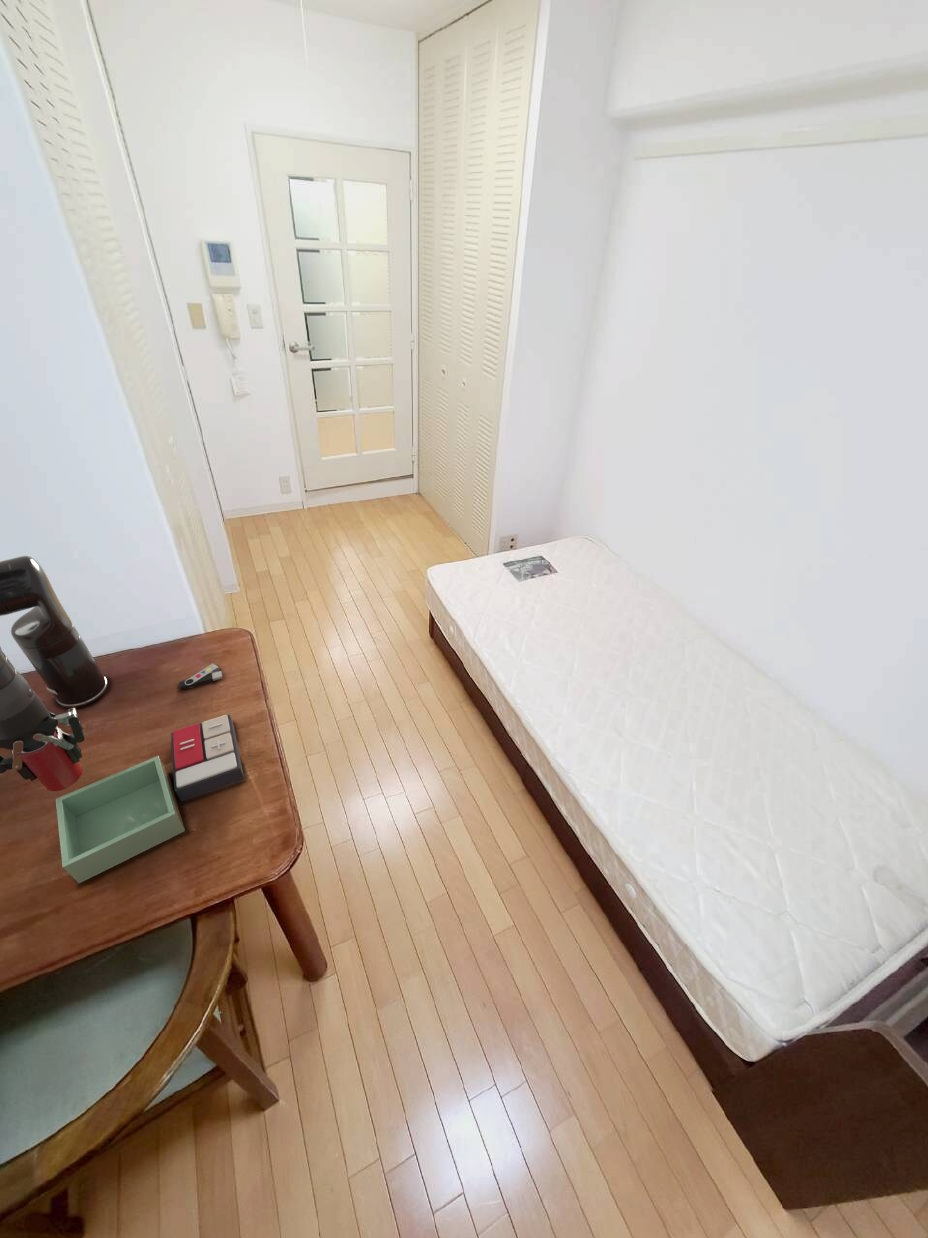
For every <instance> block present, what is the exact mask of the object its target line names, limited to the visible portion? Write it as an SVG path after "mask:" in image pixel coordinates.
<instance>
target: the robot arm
mask: <svg viewBox="0 0 928 1238" xmlns="http://www.w3.org/2000/svg"><path fill="white" fill-rule="evenodd" d="M29 609H30V610H29ZM26 610H29V611H27V612H26V613H24V614H23V615H21V616H20V617H19V618H17V619H16V620H15V621H14V623H13V624H12V625H11V628H10V634H11V636H12V639H13V640H14V641H15V643H16V644H17V645H18V647H19V648H20V650H21V652H22V653H23V654H24V655H25V657H26V658H27V660H28V661H29V662H30V664H31V665H32V667H33V668H34V670H35V671H36V673H38V675H39V677H40V678H41V680H42V681H43V682H44V684H45V685H46V686H45V688H46V690H47V691H48V692H50V693H51V694H52V695H53V697H54V698H55V700H56V702H57V704H58V705H59V706H60V707H62V708H66V709H67V712H64V713H59V714H55V713H53V712H51V711H50V710H48V708H47V706H46V705H45V704H44V702H43V701H42V700H41V698H40V697H39V696H38V694H37V693H36V691H35V690H34V689H33V687H32V686H31V685H30V683H29V682H28V681H27V679H26V678H25V677H24V676H23V675H22V673H20V672H19V671H18V670H17V669H16V667H14V665H13V664H12V662H11V661H10V660H9V658H8V657H7V656H6V654H5V653H4V651H3V650H2V648H1V647H2V646H0V749H6V750H9V751H10V750H11V757H6V756H4V755H2V754H1V753H0V774H4V773H6V772H7V771H8V770H14V771H16V772H17V773H18V774H19V775H20V776H21V777H22V778H23V780H26V781H27V780H30V781H31V782H33V781H35V780H38V778H37V777H36V776H35V775H34V774H33V773H32V771H31V770H30V769H29V768H28V767H27V766H26V764H25V763H24V762H23V761H22V758H21V757H20V756H19V754H22V753H21V752H23V749H24V748H27V747H29V746H32V745H34V744H37V743H40V742H45V743H47V742H49V743H50V742H53V744H54V745H55V746H58V745H59V746H60V747H62V748H64V749H66V752H67V754H68V755H69V756H70V758H71V759H72V760H73V761H74V763H77V762H78V763H79V762H81V758H83V754H82V749H81V747H80V746H79V745H78V743H80V744H81V743H83V742H84V741H85V734H84V728H83V726H82V723H81V720H80V715H79V713H78V710H77V709H79V708H82V707H85V706H89V705H90V704H93V703H94V702H96V701H97V700H99V699H100V698H101V697H103V696H104V694H106V692H107V690H108V688H109V681H108V680H107V678H106V676H104V674H103V672H102V671H101V669H100V667H99V666H98V664H97V662H96V660H95V658H94V656H93V655H92V653H91V651H90V650H89V648H88V646H87V645H86V643H85V642H84V640H83V639H82V637H81V635H80V633H79V632H78V630H77V629H76V627H75V624H74V623H73V621H72V620H71V618H70V616H69V614H68V613H67V611H66V610H65V608H64V605H62V603H61V601H60V599H59V597H58V595H57V594H56V592H55V590H54V588H53V586H52V583H51V581H50V579H49V577H48V575H47V573H46V572H45V569H44V568H43V567H42V565H41V564H40V563H39V562H38V560H37V559H35V558H34V557H32V556H30V555H22V556H18V557H13V558H9V559H5V560H0V617H2V616H7V615H12V614H14V613H19V612H22V611H26ZM59 723H60V724H61V723H62V724H63V725H64V726H66V727H67V728H69V727H70V728H71V731H72V733H71V734H70V733H67V732H65V731H63V730H62V729H61V727H58V724H59ZM54 732H56V734H57V738H56V737H53V734H54Z"/></svg>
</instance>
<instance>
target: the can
mask: <svg viewBox="0 0 928 1238" xmlns="http://www.w3.org/2000/svg"><path fill="white" fill-rule="evenodd" d="M53 737H56V738H57V734H56V732H54V734H53ZM21 753H22V754H19V756H20V757H21V758H22V761H23V762H24V763H25V764H26V766H27V767H28V768H29V769H30V770H31V771H32V773H33V774H34V775H35V776H36V777H37V780H38V781H39V782H40V783H41V784H42V786H43V787H44V788H45V789H46V790H47V791H50V792H59V791H63V790H65V789H66V790H67V789H68V788H69V787H72V786H73V785H74V784H76V783H77V782H78V781H79V780H80V778H81V776H82V774H83V767H82V766H81V764H80V763H79V762H77V763H74V761H73V760H72V759H71V758H70V756H69V755H68V754H67V752H66V749H64V748H62V747H60V746H59V745H58V746H55V745H54V744H53V742H50V743H49V742H47V743H45V742H40V743H37V744H34V745H32V746H29V747H27V748H24V749H23V752H21Z"/></svg>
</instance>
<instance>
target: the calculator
mask: <svg viewBox="0 0 928 1238" xmlns="http://www.w3.org/2000/svg"><path fill="white" fill-rule="evenodd" d="M235 729H236V728H235V724H234V722H233V719H232V716H231V715H230V714H224V715H221V716H217V717H213V718H211V719H208V720H205V721H202V722H200V723H195V724H192V725H189V726H185V727H182V728H178V729H175V730H173V731H172V732H170V739H171V741H170V742H171V754H172V755H171V757H172V769H173V770H172V771H173V772H172V774H173V790H174V793H175V794H176V795H177V797H178V799H179V801H180V802H184V801H187V800H191V799H194V798H196V797H199V796H202V795H205V794H208V793H210V792H213V791H216V790H219V789H221V788H223V787H227V786H229V785H233V784H236V783H237V782H241V781H243V780H244V779H245V774H244V770H243V766H242V765H243V764H242V761H241V756H240V751H239V750H240V749H239V745H238V740H237V735H236V730H235Z"/></svg>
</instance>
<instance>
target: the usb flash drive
mask: <svg viewBox="0 0 928 1238" xmlns="http://www.w3.org/2000/svg"><path fill="white" fill-rule="evenodd" d="M222 679H223V673H222V670H220V667H218V666H217V665H216V664H214V663H210V665H207V666H206V667H205V668H203V669H202V670H200V671H198V672H197V673H196V674H193V675H192V676H191V677H189V678H187V679H185V680H181V681H179V683H178V684H179V685H178V686H179V689H180V690H181V691H183V690H186V689H187V690H188V689H192V688H194V687H198V686H203V685H205V684H209V683H213V682H214V681H216V680H222Z"/></svg>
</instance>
